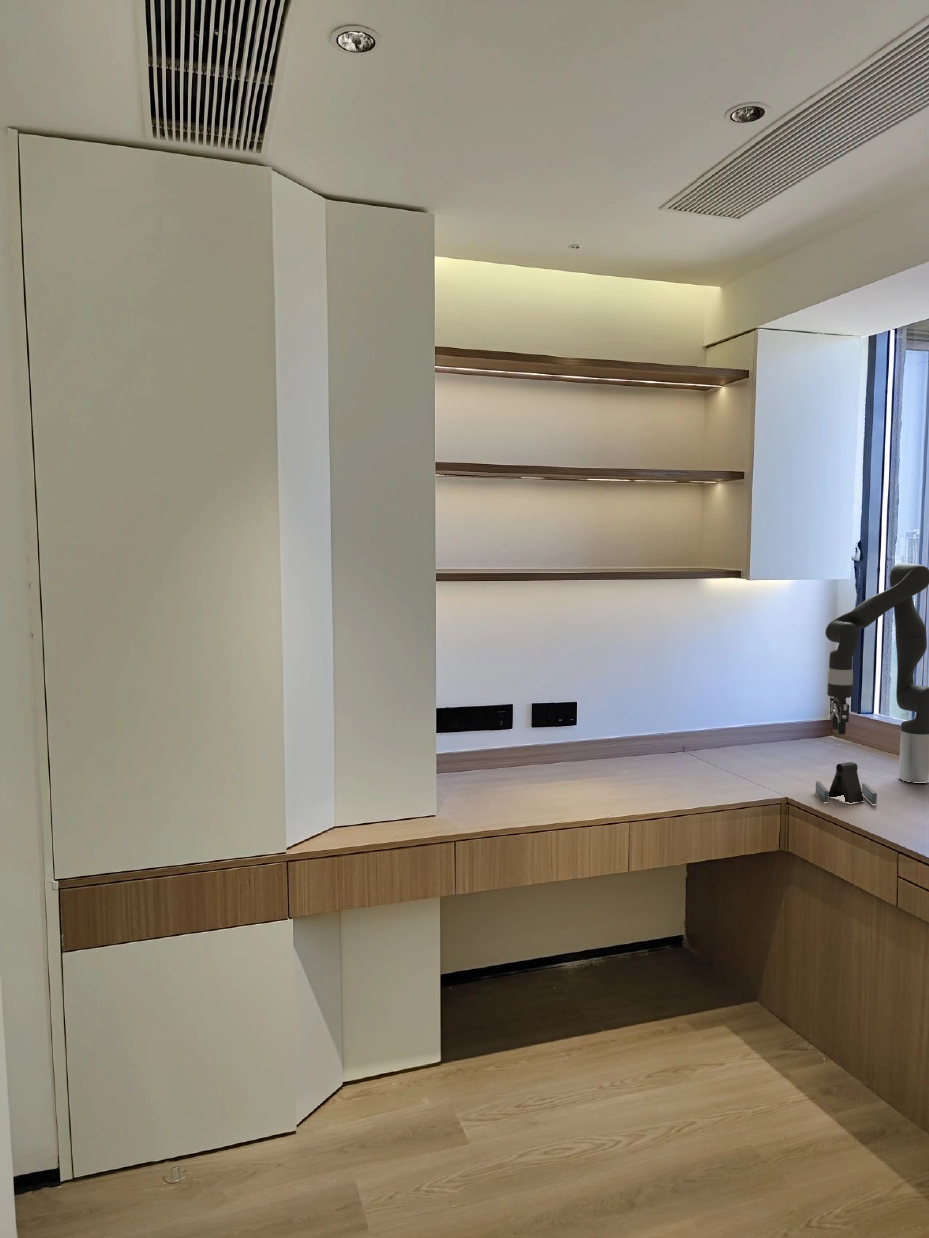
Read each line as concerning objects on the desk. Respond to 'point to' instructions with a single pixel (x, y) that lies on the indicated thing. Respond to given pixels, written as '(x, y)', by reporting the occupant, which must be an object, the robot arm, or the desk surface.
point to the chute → (866, 791)
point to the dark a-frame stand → (846, 783)
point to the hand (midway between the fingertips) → (838, 731)
